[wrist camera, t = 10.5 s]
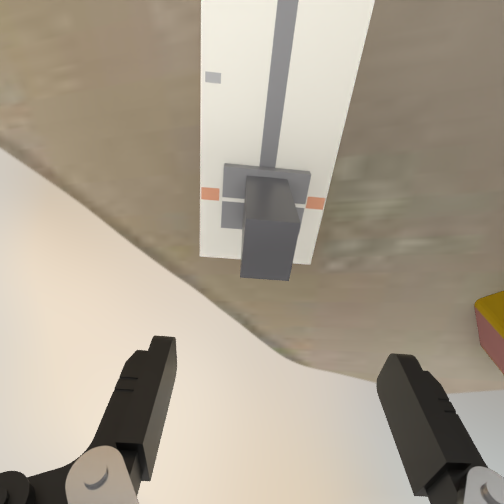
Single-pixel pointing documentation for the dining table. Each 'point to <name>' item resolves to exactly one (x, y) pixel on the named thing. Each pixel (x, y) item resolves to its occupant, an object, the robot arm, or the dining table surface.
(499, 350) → the lunch box
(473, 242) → the dining table surface
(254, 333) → the dining table surface
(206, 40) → the fader console
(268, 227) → the fader tab
